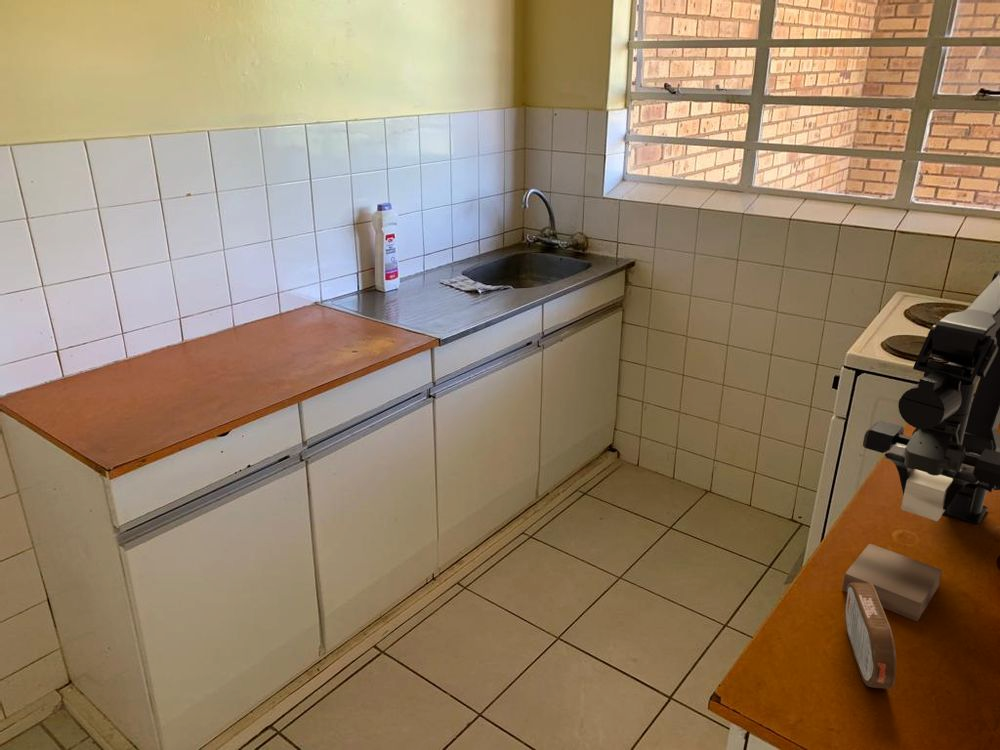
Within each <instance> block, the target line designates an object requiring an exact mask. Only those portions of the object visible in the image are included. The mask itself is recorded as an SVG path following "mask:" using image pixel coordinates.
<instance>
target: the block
mask: <svg viewBox="0 0 1000 750" xmlns="http://www.w3.org/2000/svg"><path fill="white" fill-rule="evenodd" d="M952 481H953V478H950V477H946V476H943V475H937V476H934V475H930V474H928V473H927V472H923V471H920V470H917V469H914V471H913V474H912V475H911V476H910V477H909V478H908V479H907V482H906V487H905V492H904V496H903V497H902V501H901V507H900V510H901V511H904V512H907V513H910V514H914V515H917V516H919V517H922V518H925V519H929V520H932V521H935V522H938V521H939V520H940V519H941V517H942V516H943V513H944V511H945V510H943V506H944V501H945V498H946V496H947V493H948V491H949V489H950V486H951V484H952Z"/></svg>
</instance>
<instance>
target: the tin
mask: <svg viewBox="0 0 1000 750" xmlns="http://www.w3.org/2000/svg"><path fill="white" fill-rule="evenodd" d="M845 599H846V600H845V605H844V618H845V626H846V632H847V636H848V640H849V644H850V646H851V648H852V649H851V650H852V652H853V656H854V658H855V661H856V664H857V668H858V672H859V674H860V677H861V679H862V681H863V683H864V684H865V685H866V686H867V687H870V688H875V689H886V690H892V689H893V688H894V686H895V683H896V679H897V653H896V652H897V651H896V645H895V640H894V634H893V631H892V628H891V625H890V623H889V620H888V618H887V615H886V612H885V611H884V608H883V607H882V605H881V603H880V600H879V597H878V595H877V593H876V590H875V588H874V586H873V584H872V583H870V582H868V583H849V584H848V586H847V592H846V598H845Z"/></svg>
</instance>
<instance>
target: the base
mask: <svg viewBox="0 0 1000 750" xmlns="http://www.w3.org/2000/svg"><path fill="white" fill-rule="evenodd" d="M942 573H943V569H941V568H938V567H935V566H932V565H930V564H927V563H925V562H922V561H919V560H917V559H914V558H911V557H909V556H905V555H903V554H900V553H897V552H894V551H892V550H889V549H886V548H883V547H882V546H881V547H880V546H878V545H875V544H872V543H869V544H868V545H867V546H866V547H865V548H864V550H863V551H862V552H861V553H860V554H859V555H858V557H857V558H856V560H855V561H854V562H853V563H852V564H851V566H850V567H849V568H848V569H847V571H846V572H845V573H844V578H843V583H842V589H841V591H842V592H844V593H847V586H848V584H849V583H868V582H870V583H872V584H873V586H874V588H875V590H876V593H877V595H878V597H879V600H880V603H881V605H882V608H883V609H885V610H888V611H890V612H893V613H895V614H897V615H900V616H903V617H905V618H907V619H910V620H912V621H915V622H918V621H919V619H920V618H921V616H922V614H923V613H924V612H925V610H926V608H927V607H928V606H929V603H930V601H931V600H932V598H933V596H934V595H935V593H936V592H937V591H938V588H939V586H940V581H941V577H942Z"/></svg>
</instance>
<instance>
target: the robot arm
mask: <svg viewBox="0 0 1000 750" xmlns="http://www.w3.org/2000/svg"><path fill="white" fill-rule="evenodd" d="M930 356H931V358H932V359H934V360H932V359H929V358H930ZM915 360H916V361H915V363H914V364H913V367H912V370H916V371H919V372H921V373H922V372H923V377H921V378H920V379H919V380H918V383H917V384H916V385H914V386H913V387H911V388H909V389H907V390H906V391H905V392H904V393H902V395H901V397H900V398H899V400H898V412H899V414H900V416H901V418H902V419H903V420H904V422H905V423H907V424H908V425H910V426H911V427H913V428H915V429H914V430H913V432H912V433H911V434H912V435H911V436H908V435H906V434H905V435H904V431H905V428H904V426H902V425H898V424H895V423H891V422H887V421H883V420H878V421H877V422H875V423H874V424H873V425H872V426H870V428H869V429H867V430H866V431H865V433H864V435H863V441H862V447H863V448H865V449H867V450H870V451H875V452H877V453H881V454H884V453H885V454H884V457H885V459H887V460H890V461H891V462H892V463H893V464H894V465H895V467H896V469H897V472H898V477H899V482H900V485H901V486H900V487H901V489H902V495H903V496H904V492H905V487H906V482H907V479H908V478H909V477H910V476H911V475H912V474H913V472H914V471H915V470H916V469H917V470H920V471H923V472H927V473H928V474H930V475H934V476H937V475H943V476H946V477H950V478H953V481H952V484H951V486H950V489H949V491H948V493H947V496H946V498H945V501H944V506H943V510H945V511H944V513H943V514H944V515H948V516H950V517H953V518H955V519H958V520H963V521H965V522H969V523H972V524H974V525H975V524H976V525H979V523H980V522H981V521H982V519H983V518H984V516H985V514H986V512H987V511H988V506H986V505H984V503H985V499H986V495H987V492H989V493H993V492H994V491H1000V432H999V425H1000V269H997V270H996V271H995V273H994V274H993V276H992V279H991V282H990V283H989V284H988V285H987V286H986V288H984V290H983V291H981V292H980V294H979V295H978V296H977V297H976V298H974V300H973V302H971V303H970V305H969V306H967V308H966V309H965V310H962V311H956V312H951V313H949V314H947V315H945V316H944V317H943V318H941V319H940V320H939V321H938V322H936V324H933V325H932V326H931V328H930V329H929V331H928V333H927V336H926V338H925V340H924V343H923V344H922V347H921V349H920V352H919V353H918V356H917V357H916V359H915ZM937 360H939V361H937ZM941 361H942V362H941ZM944 362H947V363H944ZM977 382H978V383H977ZM976 385H977V386H976ZM943 514H942V515H943Z"/></svg>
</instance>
